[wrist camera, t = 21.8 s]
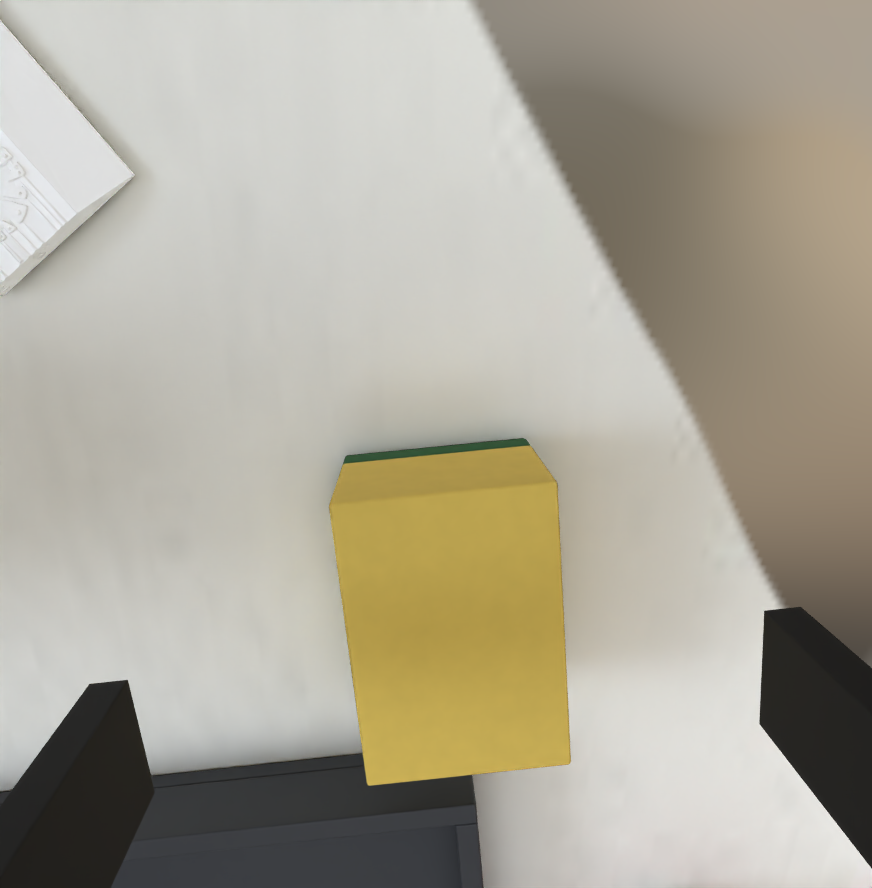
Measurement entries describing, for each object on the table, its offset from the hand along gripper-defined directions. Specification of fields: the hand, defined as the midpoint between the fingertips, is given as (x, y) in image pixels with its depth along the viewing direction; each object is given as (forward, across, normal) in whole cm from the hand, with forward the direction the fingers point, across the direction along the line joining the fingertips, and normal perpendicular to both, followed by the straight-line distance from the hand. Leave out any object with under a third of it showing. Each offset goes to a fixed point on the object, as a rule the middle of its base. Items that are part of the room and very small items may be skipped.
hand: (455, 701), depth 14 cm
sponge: (+8, 0, -1) cm, 8 cm away
